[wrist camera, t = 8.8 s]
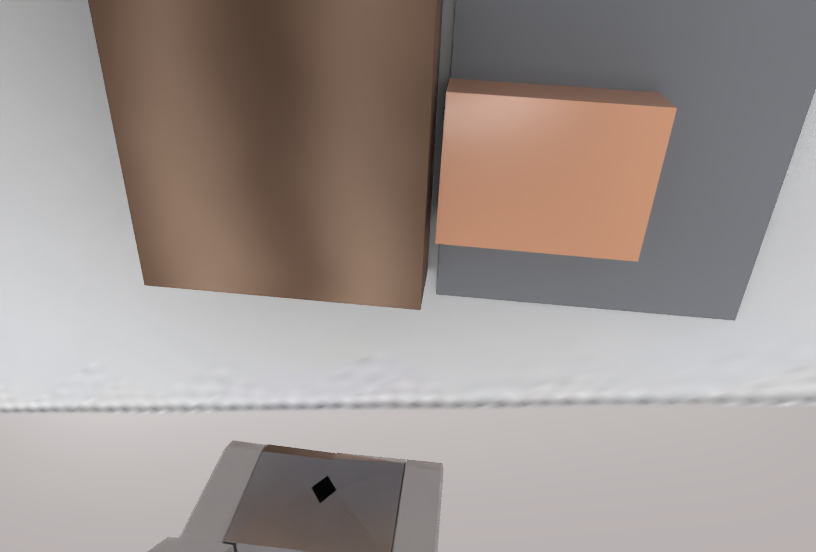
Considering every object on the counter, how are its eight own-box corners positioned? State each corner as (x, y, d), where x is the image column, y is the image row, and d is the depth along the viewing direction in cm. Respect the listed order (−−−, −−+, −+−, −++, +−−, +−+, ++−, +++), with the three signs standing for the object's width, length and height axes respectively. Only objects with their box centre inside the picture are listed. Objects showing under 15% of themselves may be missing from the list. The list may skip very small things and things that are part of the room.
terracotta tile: (439, 218, 27) (435, 243, 25) (449, 78, 24) (445, 91, 22) (625, 235, 26) (637, 261, 24) (659, 92, 23) (676, 107, 21)
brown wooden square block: (179, 249, 30) (144, 285, 27) (135, -28, 24) (83, -23, 21) (427, 270, 29) (420, 310, 26) (443, -13, 23) (436, -6, 20)
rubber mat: (436, 289, 29) (436, 294, 29) (463, -108, 21) (462, -108, 21) (731, 315, 28) (734, 320, 28) (872, -94, 20) (879, -94, 20)
